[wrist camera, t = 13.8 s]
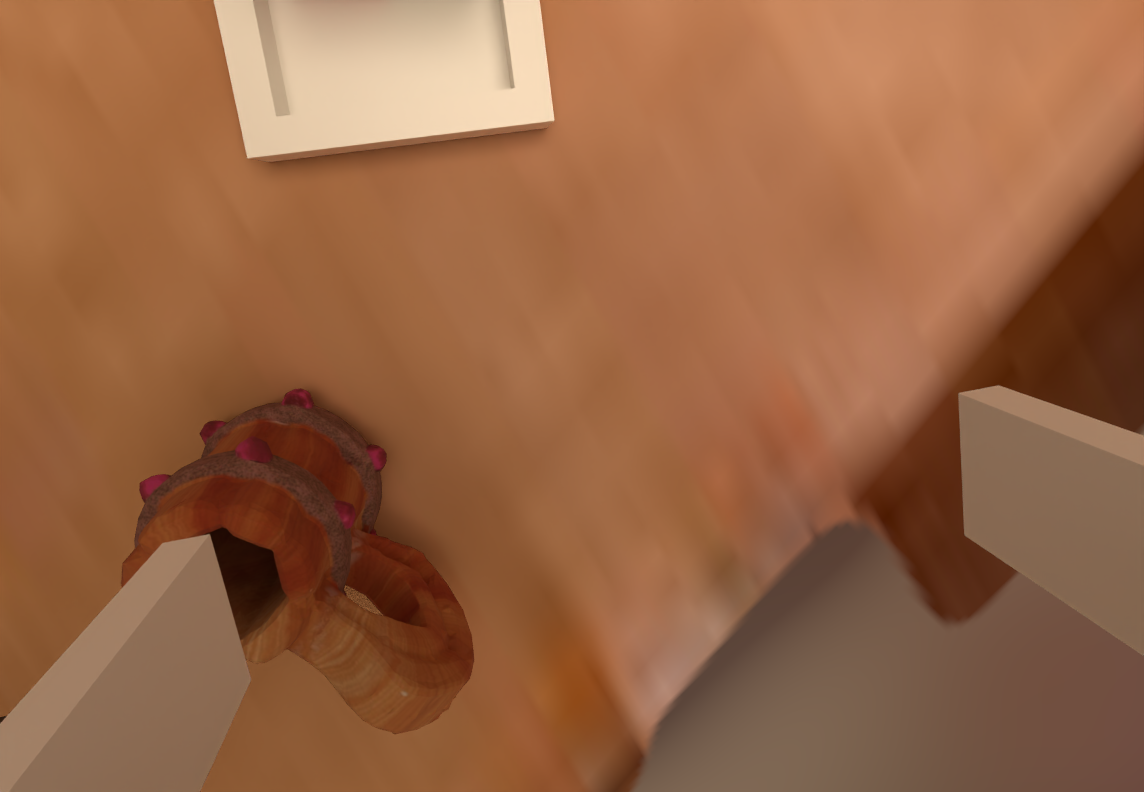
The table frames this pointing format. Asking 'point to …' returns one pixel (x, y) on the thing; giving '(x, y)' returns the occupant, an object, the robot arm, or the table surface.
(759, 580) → the table surface
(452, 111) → the tray
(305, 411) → the mug
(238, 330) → the table surface
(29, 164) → the table surface
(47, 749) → the robot arm
